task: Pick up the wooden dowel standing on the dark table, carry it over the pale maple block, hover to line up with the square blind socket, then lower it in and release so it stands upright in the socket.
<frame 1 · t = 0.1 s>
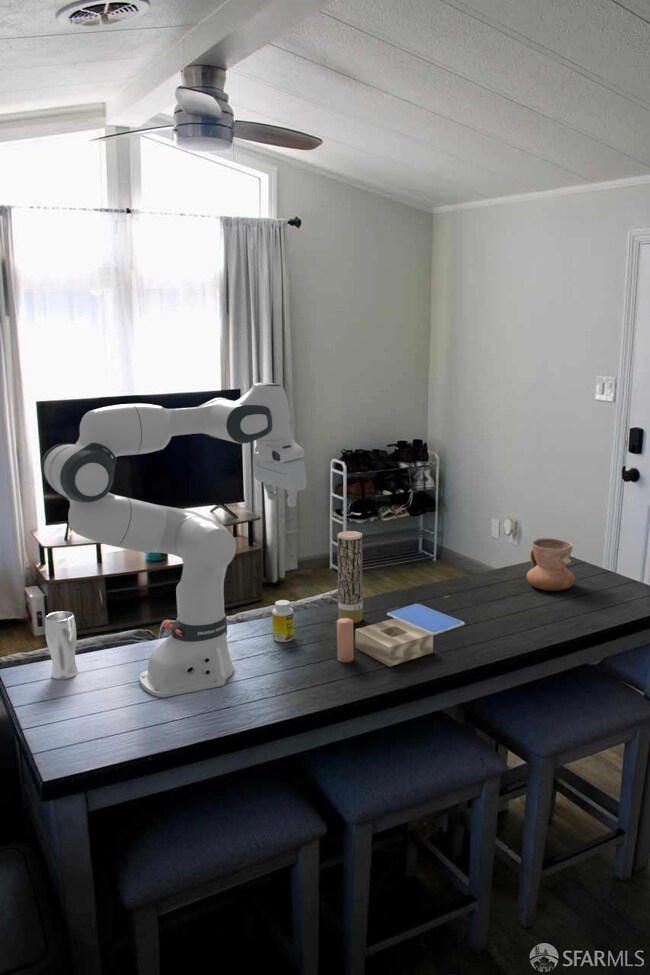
hand: (281, 502, 197), 39 cm above the table, tool pointing down, fingers open, 8 cm apart
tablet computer: (425, 622, 223), on the table
supplement bottle: (283, 639, 212), on the table
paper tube: (350, 620, 224), on the table
dowel: (345, 658, 199), on the table
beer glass: (65, 675, 193), on the table
socket block: (393, 650, 203), on the table
ceramic jug: (548, 586, 248), on the table
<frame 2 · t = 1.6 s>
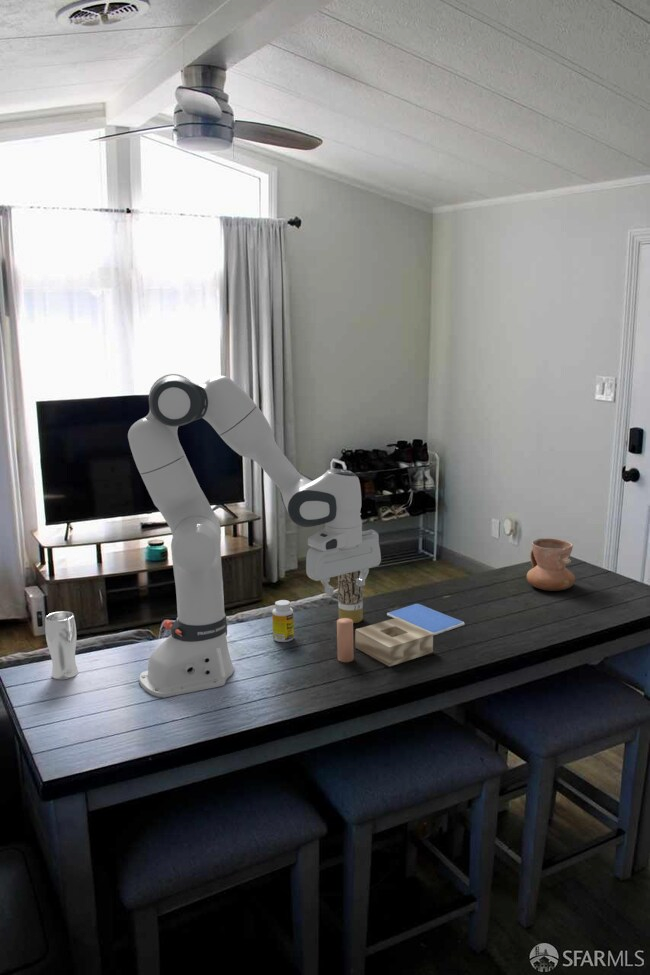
hand: (345, 589, 195), 18 cm above the table, tool pointing down, fingers open, 8 cm apart
nothing on the table moved.
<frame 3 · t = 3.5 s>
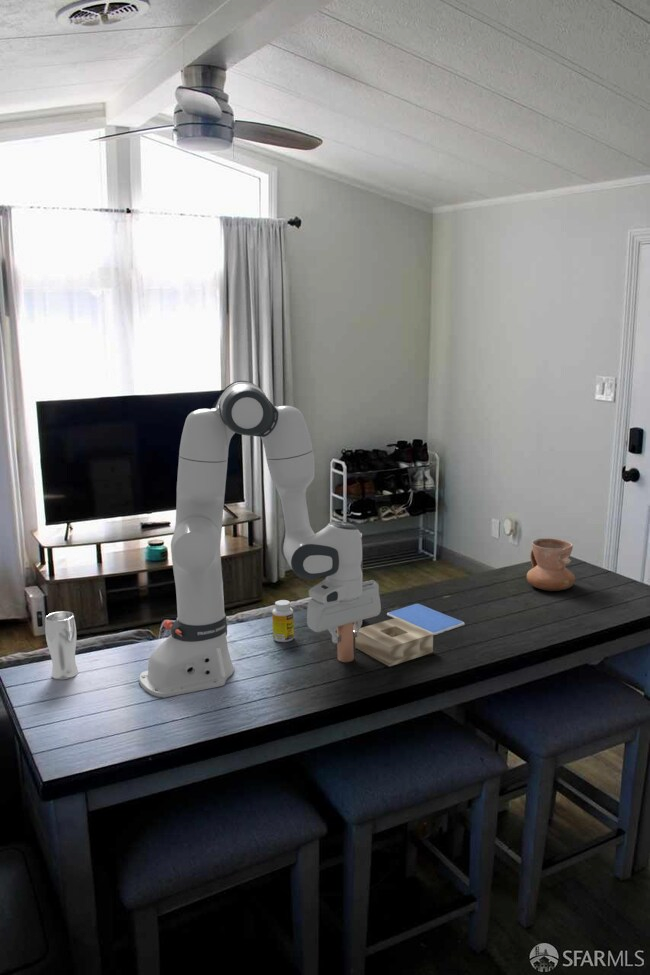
hand: (345, 639, 198), 5 cm above the table, tool pointing down, fingers closed on dowel, 4 cm apart
dowel: (345, 658, 199), on the table, touching gripper
everything else where it was.
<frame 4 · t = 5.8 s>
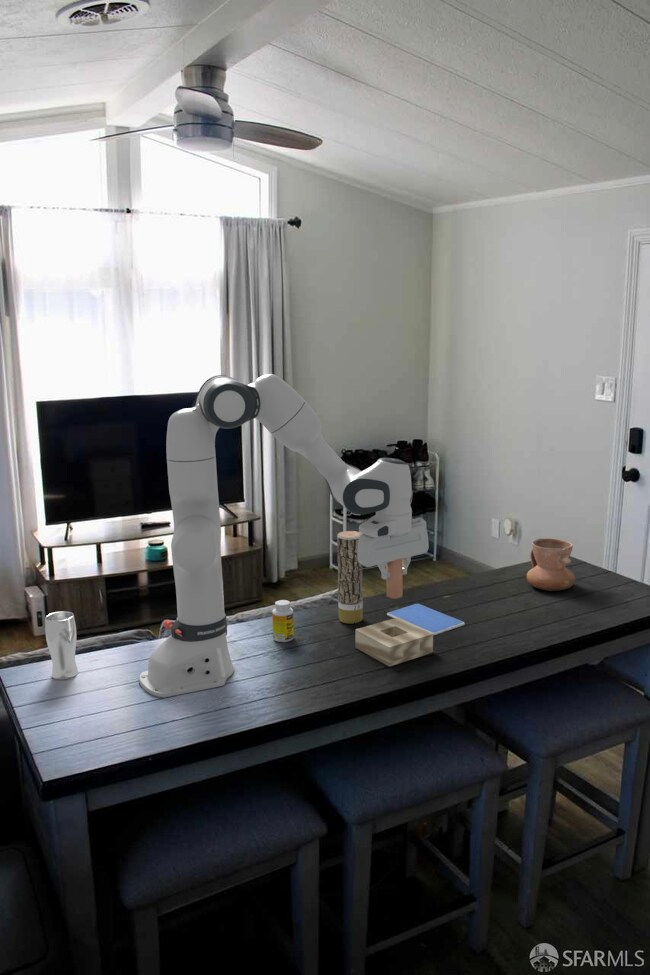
hand: (394, 576, 199), 20 cm above the table, tool pointing down, fingers closed on dowel, 4 cm apart
dowel: (394, 595, 200), point 15 cm above the table, touching gripper
everything else where it was.
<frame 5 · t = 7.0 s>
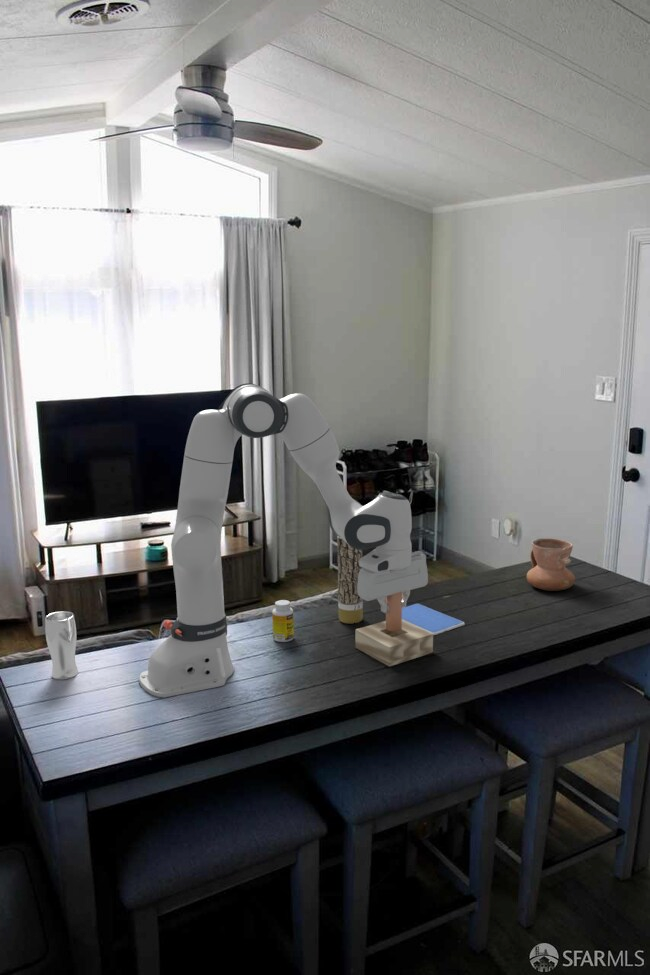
hand: (393, 609, 201), 11 cm above the table, tool pointing down, fingers closed on dowel, 4 cm apart
dowel: (393, 628, 202), point 6 cm above the table, touching gripper
everything else where it was.
when the fingers open (8 cm above the table, at t = 8.1 s): dowel drops 1 cm, resting on socket block.
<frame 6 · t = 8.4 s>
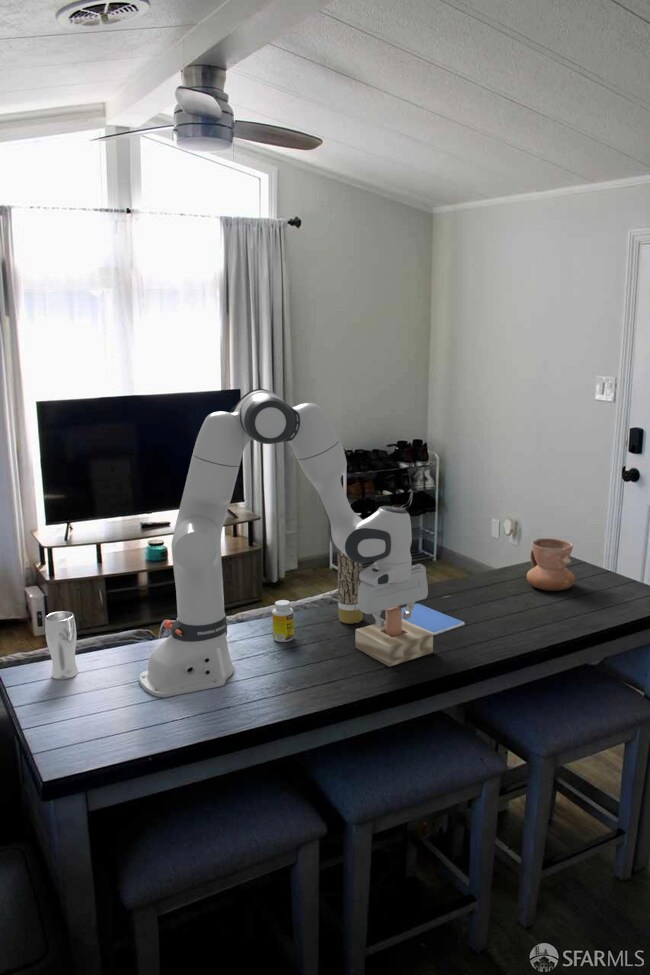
hand: (393, 622, 202), 8 cm above the table, tool pointing down, fingers open, 7 cm apart
dowel: (393, 645, 203), point 1 cm above the table, touching socket block
everything else where it was.
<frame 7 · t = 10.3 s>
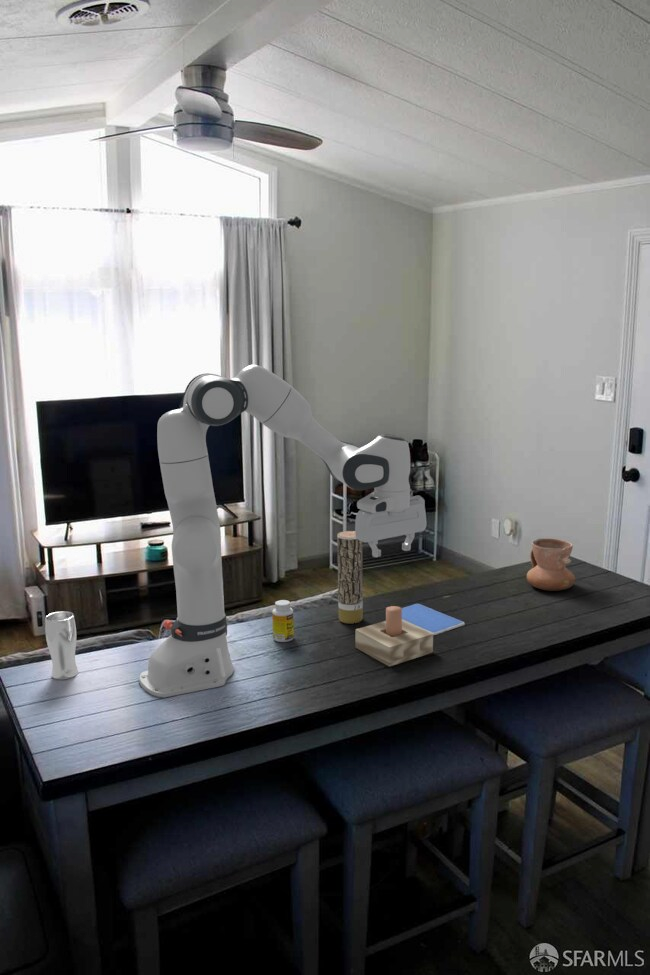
hand: (391, 553, 200), 25 cm above the table, tool pointing down, fingers open, 8 cm apart
nothing on the table moved.
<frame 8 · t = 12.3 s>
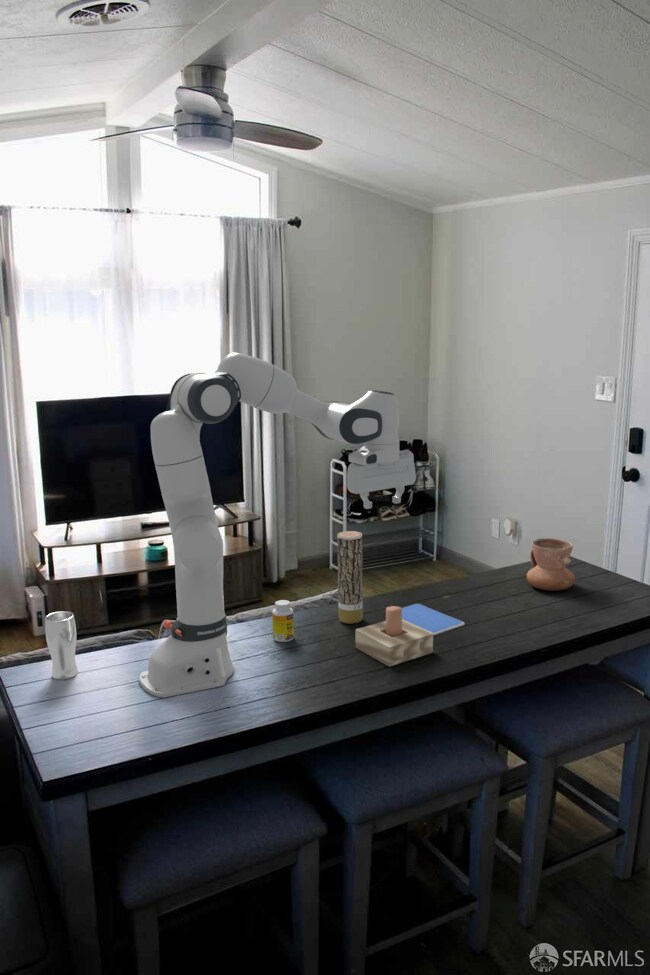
hand: (382, 505, 208), 35 cm above the table, tool pointing down, fingers open, 8 cm apart
nothing on the table moved.
at the end: dowel 0.0 cm off-centre on the socket block, point 1.1 cm above the socket block's base; dowel tilted 0°; the gripper is holding nothing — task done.
